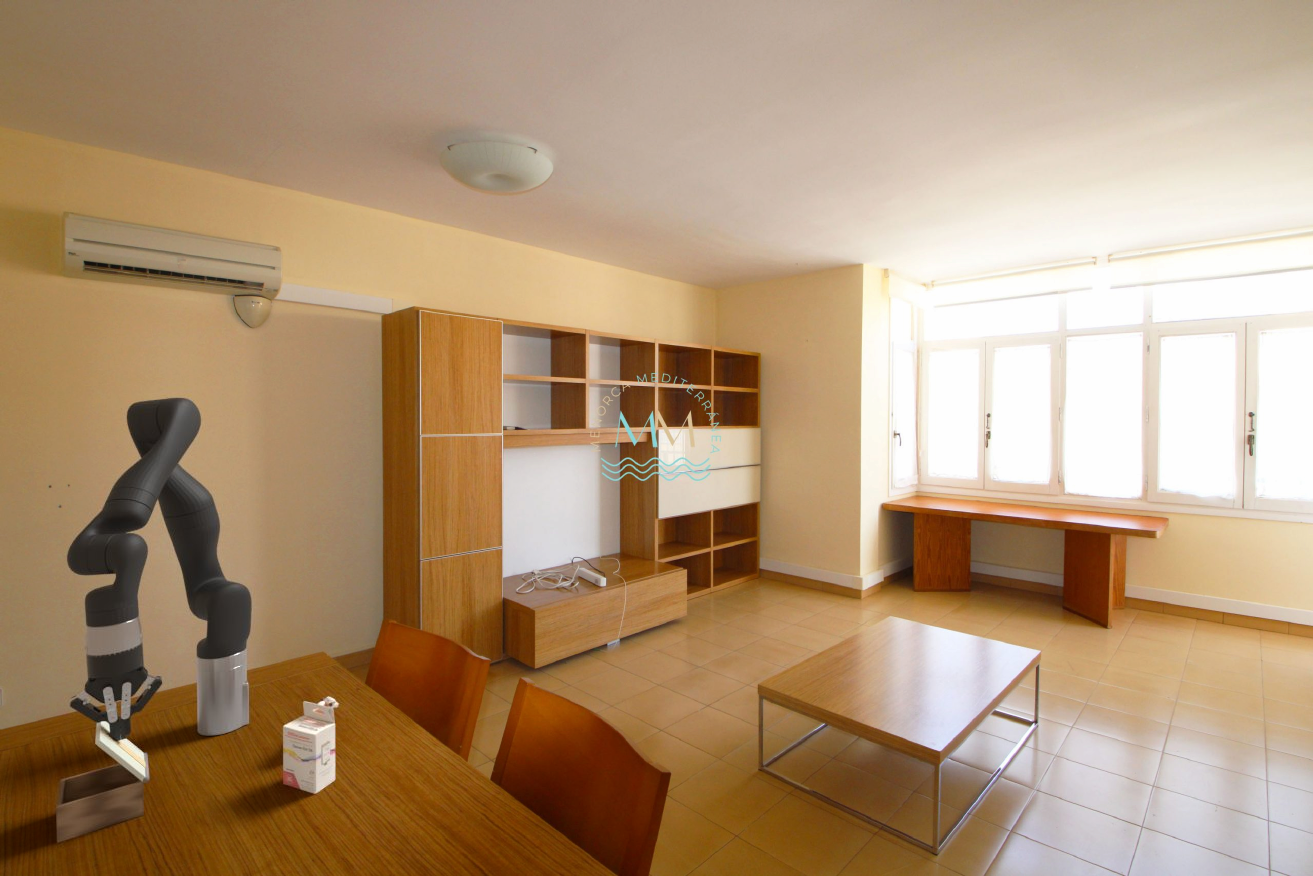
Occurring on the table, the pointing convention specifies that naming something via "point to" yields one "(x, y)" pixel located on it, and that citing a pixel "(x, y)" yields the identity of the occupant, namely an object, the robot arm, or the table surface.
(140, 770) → the lid
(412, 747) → the table surface
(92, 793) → the box
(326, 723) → the ink cartridge box
